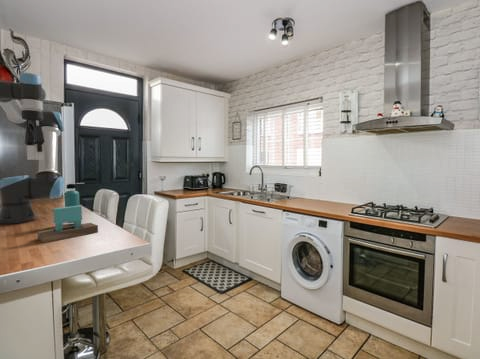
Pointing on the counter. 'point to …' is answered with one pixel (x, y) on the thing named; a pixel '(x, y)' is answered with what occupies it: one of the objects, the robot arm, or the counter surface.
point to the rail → (66, 232)
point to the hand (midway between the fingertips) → (35, 159)
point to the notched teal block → (67, 216)
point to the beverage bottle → (71, 197)
